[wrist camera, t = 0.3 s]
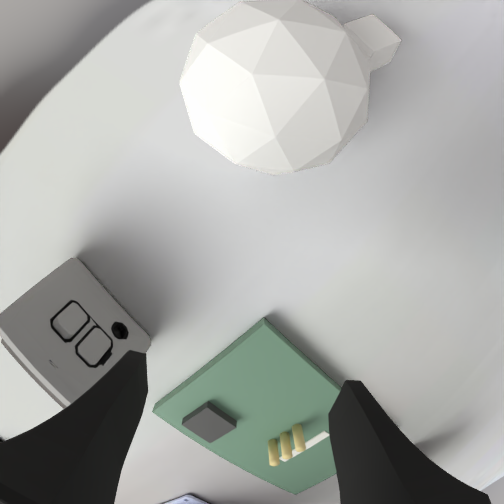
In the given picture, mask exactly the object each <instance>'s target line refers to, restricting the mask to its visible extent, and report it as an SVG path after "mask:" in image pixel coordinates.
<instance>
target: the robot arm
mask: <svg viewBox="0 0 504 504" xmlns="http://www.w3.org/2000/svg"><path fill="white" fill-rule="evenodd" d="M147 393H148V382H147V364H146V353H141V352H137V351H132V350H129V351H127V352H126V353H125V354H124V355H123V356H122V358H121V359H120V360H119V361H118V362H117V363H116V364H115V365H114V366H113V367H112V368H111V369H110V370H109V371H108V372H107V373H106V374H105V375H104V376H103V377H102V378H101V379H99V380H98V381H97V382H96V383H95V384H94V385H93V386H92V387H91V388H90V389H89V390H87V391H86V392H85V393H84V394H83V395H81V396H80V397H79V398H78V399H76V400H75V401H74V402H73V403H71V404H70V405H69V406H67V407H66V408H65V409H63V410H62V411H60V412H59V413H58V414H56V415H55V416H53V417H51V418H50V419H48V420H46V421H45V422H43V423H41V424H40V425H38V426H36V427H34V428H33V429H31V430H29V431H27V432H24V433H22V434H20V435H18V436H16V437H13V438H11V439H9V440H6V441H4V442H1V443H0V504H114V502H115V496H116V492H117V487H118V483H119V478H120V474H121V470H122V467H123V464H124V461H125V458H126V455H127V453H128V450H129V447H130V445H131V442H132V440H133V437H134V434H135V432H136V429H137V427H138V424H139V421H140V419H141V416H142V413H143V409H144V405H145V401H146V397H147ZM328 420H329V436H330V442H331V447H332V452H333V457H334V462H335V467H336V472H337V478H338V483H339V489H340V501H341V504H491V502H490V499H489V496H488V495H487V494H485V493H483V492H481V491H479V490H477V489H475V488H472V487H470V486H468V485H466V484H465V483H463V482H461V481H460V480H458V479H456V478H455V477H453V476H452V475H450V474H449V473H447V472H446V471H444V470H443V469H442V468H440V467H439V466H438V465H436V464H435V463H434V462H432V461H431V460H430V459H429V458H428V457H427V456H425V455H424V454H423V453H422V452H421V451H420V450H419V449H418V448H417V447H416V446H415V445H414V444H413V443H412V442H411V441H410V440H409V439H408V438H407V437H406V436H405V435H404V434H403V433H402V432H401V431H400V429H399V428H398V427H397V426H396V425H395V424H394V422H393V421H392V420H391V419H390V418H389V416H388V415H387V414H386V413H385V411H384V410H383V409H382V408H381V406H380V405H379V404H378V402H377V401H376V400H375V398H374V397H373V396H372V395H371V393H370V392H369V391H368V389H367V388H366V387H365V386H364V384H363V383H362V382H361V381H354V380H346V381H345V383H344V385H343V387H342V389H341V391H340V393H339V395H338V397H337V398H336V400H335V402H334V404H333V406H332V408H331V410H330V412H329V413H328ZM164 504H209V503H206V502H204V501H202V500H200V499H198V498H196V497H194V496H192V495H185V496H182V497H180V498H177V499H175V500H172V501H169V502H167V503H164Z"/></svg>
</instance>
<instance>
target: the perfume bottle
mask: <svg viewBox="0 0 504 504" xmlns="http://www.w3.org/2000/svg"><path fill="white" fill-rule="evenodd" d="M401 41H402V40H401V39H400V38H399V37H398V36H397V35H396V34H395V33H394V32H393V31H392V30H391V29H389V28H388V27H387V26H386V25H385V24H384V23H383V22H382V21H380V20H379V19H378V18H377V17H376V16H375V15H374V14H371V15H368V16H365V17H362V18H359V19H356V20H354V21H351V22H348V23H345V24H344V25H343V26H342V25H341V24H340V23H339V21H338V20H337V19H336V18H335V17H334V16H332V15H330V14H328V13H326V12H325V11H323V10H321V9H319V8H317V7H315V6H313V5H311V4H309V3H307V2H305V1H303V0H255V1H243V2H239V3H237V4H236V5H234V6H233V7H231V8H230V9H228V10H227V11H226V12H224V13H223V14H221V15H220V16H219V17H217V18H216V19H214V20H213V21H212V22H210V23H209V24H208V25H206V26H205V27H204V28H202V29H201V30H200V31H198V32H197V33H196V35H195V37H194V40H193V43H192V46H191V49H190V52H189V55H188V57H187V60H186V63H185V66H184V69H183V73H182V76H181V79H180V82H179V84H180V87H181V90H182V94H183V97H184V101H185V104H186V107H187V111H188V114H189V118H190V121H191V124H192V128H193V131H194V134H196V135H197V136H198V137H200V138H201V139H202V140H204V141H205V142H206V143H207V144H209V145H210V146H211V147H213V148H214V149H215V150H217V151H218V152H219V153H220V154H222V155H223V156H225V157H226V158H227V159H229V160H230V161H232V162H233V163H234V164H236V165H240V166H243V167H247V168H250V169H254V170H257V171H260V172H264V173H267V174H271V175H279V174H285V173H291V172H296V171H300V170H304V169H308V168H313V167H317V166H321V165H326V164H329V163H330V162H331V161H332V160H333V159H334V158H335V157H336V156H337V155H338V153H339V152H340V151H341V150H342V149H343V148H344V147H345V146H346V145H347V143H348V142H349V141H350V140H351V139H352V138H353V137H354V136H355V135H356V134H357V132H358V131H359V130H360V129H361V128H362V127H363V126H364V125H365V124H366V122H367V121H368V106H369V87H370V72H372V71H374V70H376V69H378V68H380V67H382V66H384V65H386V64H389V63H390V62H391V60H392V58H393V56H394V54H395V52H396V50H397V49H398V47H399V45H400V43H401Z"/></svg>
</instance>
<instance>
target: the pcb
mask: <svg viewBox="0 0 504 504" xmlns="http://www.w3.org/2000/svg"><path fill="white" fill-rule="evenodd" d="M341 389H342V388H341V387H340V386H339V385H338V384H336V383H335V382H334V381H333V380H332V379H331V378H330V377H329V376H327V375H326V374H325V373H324V372H323V371H322V370H321V369H320V368H318V367H317V366H316V365H315V364H314V363H313V362H312V361H311V360H310V359H308V358H307V357H306V356H305V355H304V354H303V353H302V352H301V351H300V350H299V349H297V348H296V347H295V346H294V345H293V344H292V343H291V342H290V341H289V340H288V339H286V338H285V337H284V336H283V335H282V334H281V333H280V332H279V331H278V330H277V329H276V328H275V327H274V326H272V325H271V324H270V323H269V322H268V321H267V320H266V319H265V318H264V317H263V318H262V319H261V320H260V321H259V322H258V323H256V324H255V325H254V326H253V327H252V328H250V329H249V330H248V331H247V332H246V333H244V334H243V335H242V336H241V337H240V338H238V339H237V340H236V341H235V342H233V343H232V344H231V345H230V346H229V347H227V348H226V349H225V350H224V351H222V352H221V353H220V354H219V355H217V356H216V357H215V358H214V359H213V360H211V361H210V362H209V363H208V364H206V365H205V366H204V367H202V368H201V369H200V370H199V371H197V372H196V373H195V374H194V375H192V376H191V377H190V378H188V379H187V380H186V381H185V382H183V383H182V384H181V385H179V386H178V387H177V388H176V389H174V390H173V391H172V392H170V393H169V394H168V395H166V396H165V397H164V398H162V399H161V400H160V401H158V402H157V403H156V404H155V405H154V408H153V411H152V412H153V413H155V414H156V415H157V416H159V417H160V418H162V419H163V420H164V421H166V422H167V423H169V424H170V425H172V426H173V427H174V428H176V429H177V430H179V431H180V432H182V433H183V434H185V435H186V436H188V437H189V438H191V439H193V440H194V441H196V442H197V443H199V444H200V445H202V446H204V447H205V448H207V449H209V450H210V451H212V452H214V453H215V454H217V455H219V456H220V457H222V458H224V459H225V460H227V461H229V462H231V463H233V464H234V465H236V466H238V467H240V468H242V469H243V470H245V471H247V472H249V473H251V474H253V475H255V476H257V477H259V478H261V479H263V480H265V481H267V482H269V483H271V484H273V485H275V486H277V487H279V488H281V489H284V490H286V491H288V492H290V493H292V494H295V495H296V494H298V493H300V492H302V491H304V490H306V489H308V488H310V487H312V486H314V485H316V484H318V483H320V482H322V481H324V480H326V479H327V478H329V477H331V476H333V475H335V474H336V473H337V472H336V467H335V462H334V457H333V452H332V447H331V442H330V436H329V420H328V413H329V412H330V410H331V408H332V406H333V404H334V402H335V400H336V398H337V397H338V395H339V393H340V391H341Z"/></svg>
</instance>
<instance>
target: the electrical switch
mask: <svg viewBox="0 0 504 504" xmlns="http://www.w3.org/2000/svg"><path fill="white" fill-rule="evenodd" d="M0 336H1V337H2V341H1V343H2V344H3V345H4V347H5V348H6V349H7V350H8V351H9V353H10V354H11V355H12V356H13V357H14V358H15V359H16V361H17V362H18V363H19V364H20V365H21V366H22V367H23V368H24V370H25V371H26V372H27V373H28V374H29V375H30V376H31V377H32V378H33V379H34V380H35V381H36V382H37V383H38V384H39V385H40V386H41V387H42V388H43V389H44V390H45V391H46V392H47V393H48V394H49V395H50V396H51V397H52V398H53V399H54V400H55V401H56V402H57V403H58V404H59V405H60V406H61V407H62V408H64V409H65V408H66V407H67V406H69V405H70V404H71V403H73V402H74V401H75V400H76V399H78V398H79V397H80V396H81V395H83V394H84V393H85V392H86V391H87V390H89V389H90V388H91V387H92V386H93V385H94V384H95V383H96V382H97V381H98V380H99V379H101V378H102V377H103V376H104V375H105V374H106V373H107V372H108V371H109V370H110V369H111V368H112V367H113V366H114V365H115V364H116V363H117V362H118V361H119V360H120V359H121V358H122V356H123V355H124V354H125V353H126V352H127V351H129V350H132V351H137V352H141V353H146V352H147V350H148V349H149V347H150V346H151V339H150V337H149V335H148V334H147V333H146V332H145V331H144V330H143V329H142V328H141V327H140V326H139V325H138V324H137V323H136V322H135V321H134V320H133V319H132V318H131V317H130V316H129V315H128V314H127V313H126V311H125V310H124V309H123V308H122V307H121V306H120V305H119V304H118V303H117V302H116V301H115V300H114V299H113V297H112V296H111V295H110V294H109V293H108V292H107V291H106V290H105V289H104V287H103V286H102V285H101V284H100V283H99V282H98V281H97V280H96V278H95V277H94V276H93V275H92V274H91V273H90V271H89V270H88V269H87V268H86V267H85V266H84V264H83V263H82V262H81V261H80V260H79V259H76V258H70V259H69V260H68V261H66V262H65V263H63V264H62V265H61V266H59V267H58V268H57V269H55V270H54V271H53V272H51V273H50V274H49V275H47V276H46V277H45V278H44V279H42V280H41V281H40V282H38V283H37V284H36V285H35V286H33V287H32V288H31V289H30V290H28V291H27V292H26V293H25V294H23V295H22V296H21V297H20V298H19V299H17V300H16V301H15V302H14V303H12V304H11V305H10V306H9V307H8V308H7V309H5V310H4V311H3V312H2V313H1V314H0Z"/></svg>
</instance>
